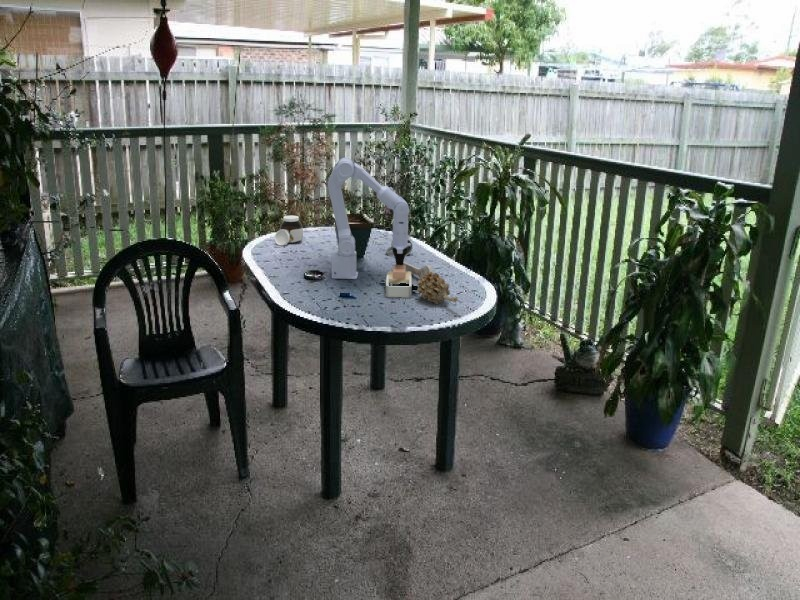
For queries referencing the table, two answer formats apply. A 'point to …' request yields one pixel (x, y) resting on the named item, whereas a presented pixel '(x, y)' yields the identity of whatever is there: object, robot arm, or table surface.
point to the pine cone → (434, 288)
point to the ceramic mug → (388, 251)
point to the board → (398, 281)
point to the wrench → (418, 269)
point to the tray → (398, 289)
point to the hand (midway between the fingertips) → (399, 266)
